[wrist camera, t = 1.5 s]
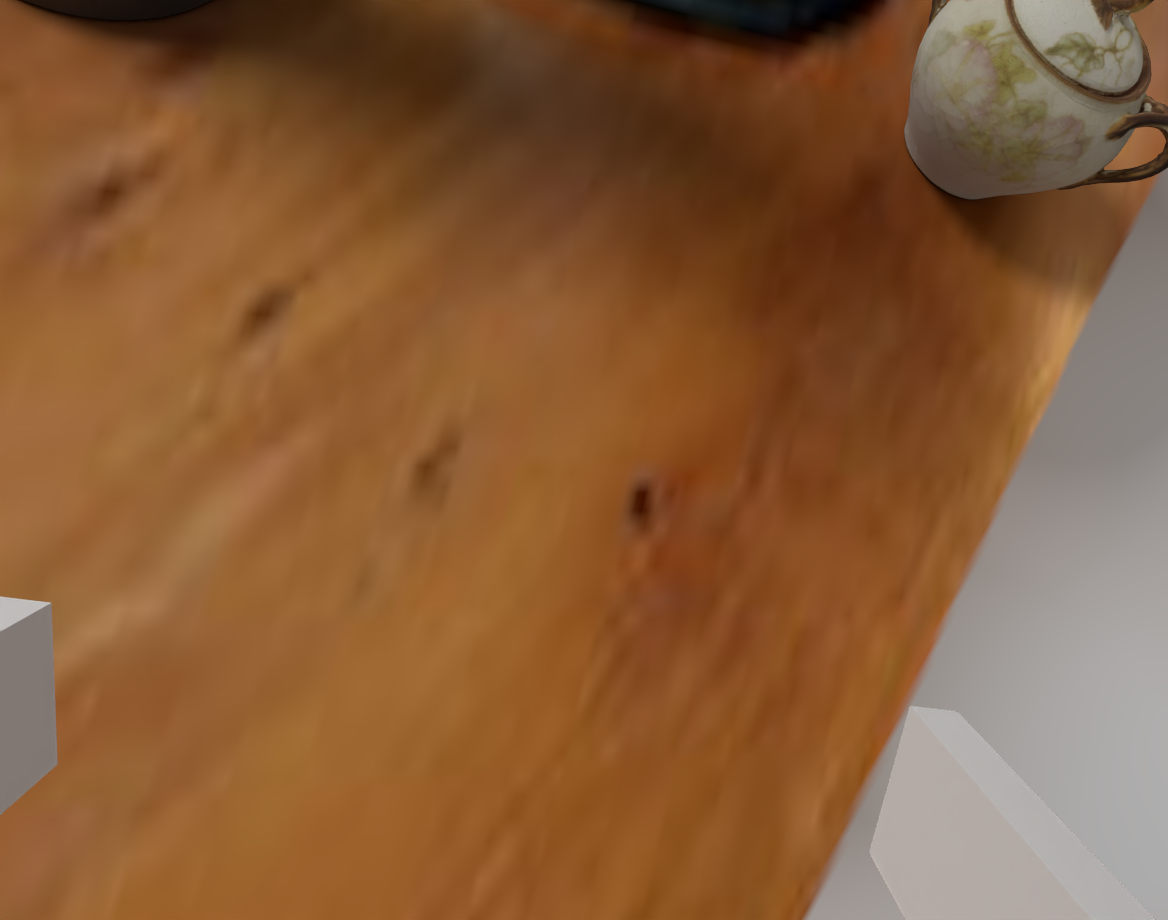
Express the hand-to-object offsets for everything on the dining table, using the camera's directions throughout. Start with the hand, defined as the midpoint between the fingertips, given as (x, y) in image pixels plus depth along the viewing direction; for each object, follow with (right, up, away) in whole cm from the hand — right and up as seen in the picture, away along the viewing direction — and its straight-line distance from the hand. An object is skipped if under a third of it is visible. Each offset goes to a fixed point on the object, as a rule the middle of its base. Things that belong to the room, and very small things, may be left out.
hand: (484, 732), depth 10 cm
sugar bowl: (+29, +27, +40) cm, 56 cm away
